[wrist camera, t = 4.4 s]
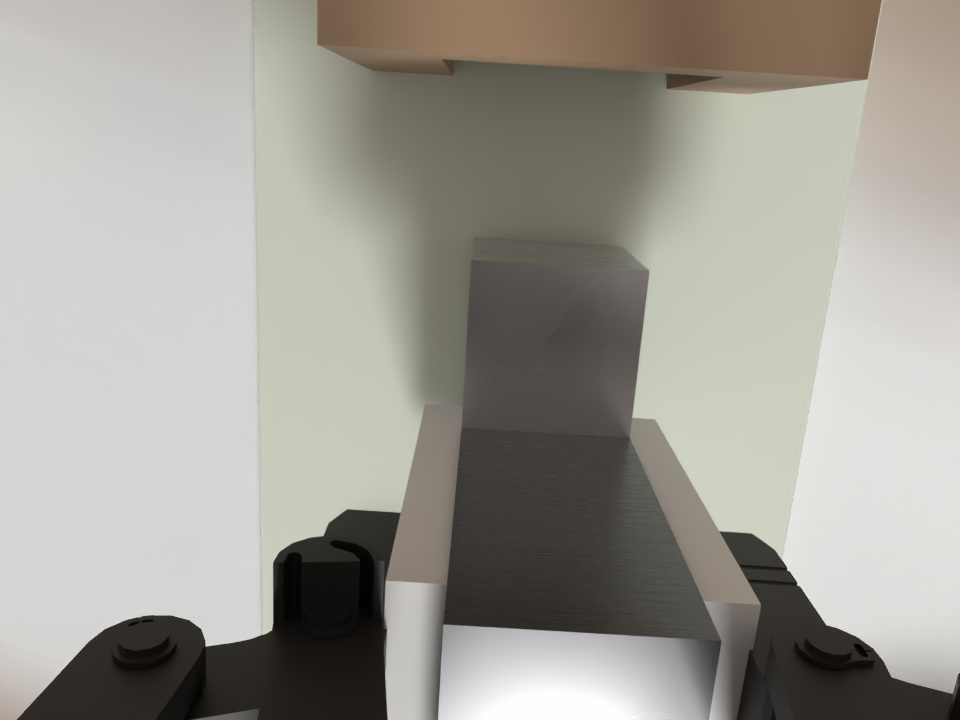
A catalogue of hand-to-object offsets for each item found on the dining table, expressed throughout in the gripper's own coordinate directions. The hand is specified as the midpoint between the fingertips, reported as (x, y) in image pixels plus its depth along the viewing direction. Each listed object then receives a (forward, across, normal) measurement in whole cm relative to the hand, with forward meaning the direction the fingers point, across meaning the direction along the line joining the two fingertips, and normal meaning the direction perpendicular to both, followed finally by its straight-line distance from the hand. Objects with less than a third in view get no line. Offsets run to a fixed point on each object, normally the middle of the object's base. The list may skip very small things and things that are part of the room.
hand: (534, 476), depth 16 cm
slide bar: (+2, 0, -4) cm, 4 cm away
